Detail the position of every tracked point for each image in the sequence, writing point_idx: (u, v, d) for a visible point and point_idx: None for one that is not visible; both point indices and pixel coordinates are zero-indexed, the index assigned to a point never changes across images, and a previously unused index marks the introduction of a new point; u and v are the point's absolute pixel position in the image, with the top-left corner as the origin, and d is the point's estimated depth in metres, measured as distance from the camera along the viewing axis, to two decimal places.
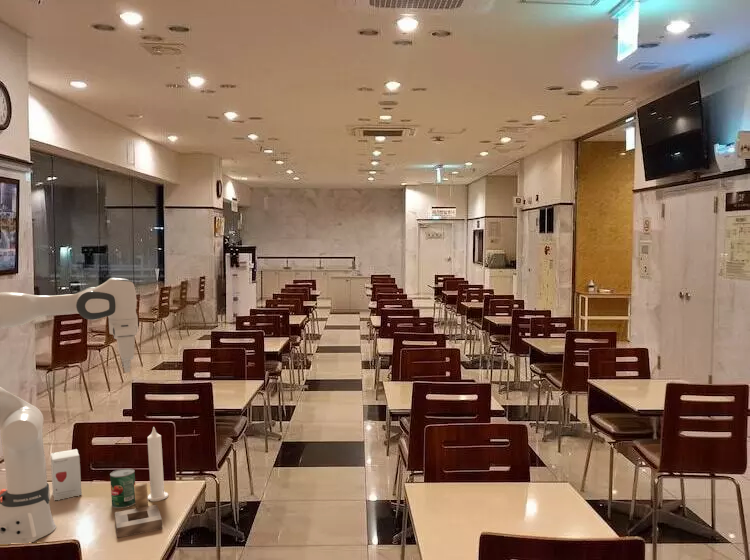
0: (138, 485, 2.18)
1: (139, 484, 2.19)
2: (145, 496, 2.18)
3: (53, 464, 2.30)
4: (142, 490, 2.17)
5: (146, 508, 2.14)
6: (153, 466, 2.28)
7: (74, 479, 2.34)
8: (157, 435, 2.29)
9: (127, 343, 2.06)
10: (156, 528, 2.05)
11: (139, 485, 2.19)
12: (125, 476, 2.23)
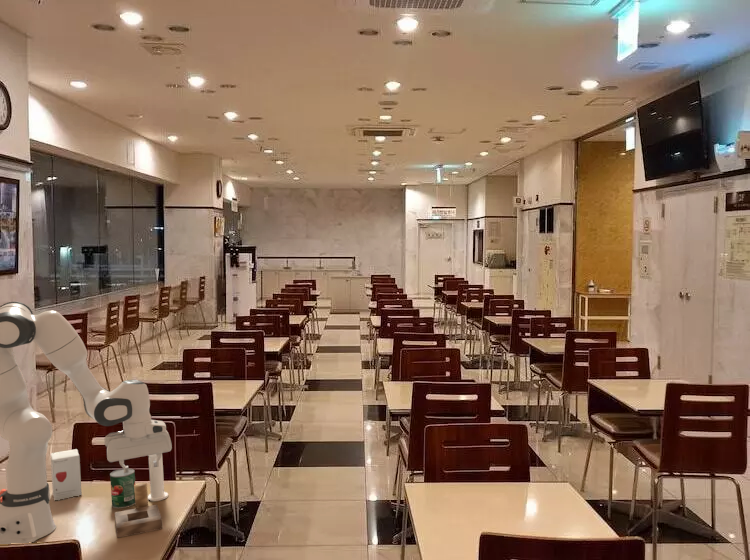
0: (138, 485, 2.18)
1: (139, 484, 2.19)
2: (145, 496, 2.18)
3: (53, 464, 2.30)
4: (142, 490, 2.17)
5: (146, 508, 2.14)
6: (153, 466, 2.28)
7: (74, 479, 2.34)
8: None
9: None
10: (156, 528, 2.05)
11: (139, 485, 2.19)
12: (125, 476, 2.23)
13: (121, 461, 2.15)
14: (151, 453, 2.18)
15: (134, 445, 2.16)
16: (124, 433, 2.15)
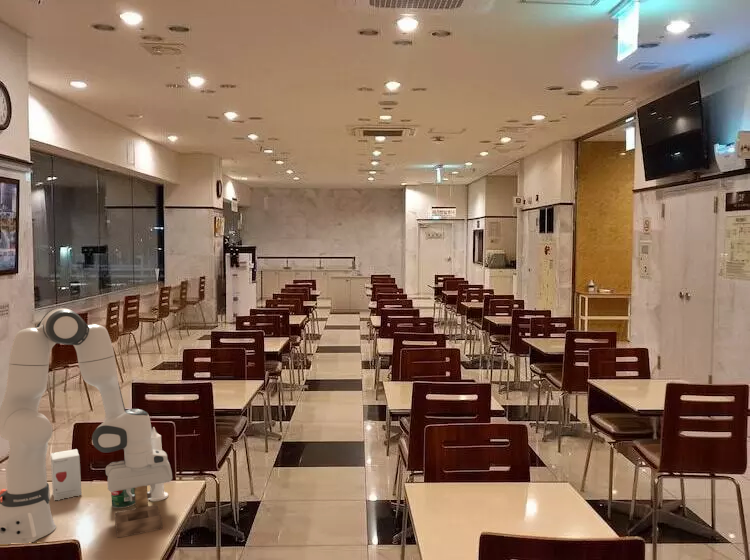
0: None
1: None
2: (145, 496, 2.18)
3: (53, 464, 2.30)
4: (142, 490, 2.17)
5: (146, 508, 2.14)
6: None
7: (74, 479, 2.34)
8: (157, 435, 2.29)
9: None
10: (156, 528, 2.05)
11: None
12: None
13: (128, 490, 2.17)
14: (151, 483, 2.19)
15: (135, 475, 2.17)
16: (125, 463, 2.16)
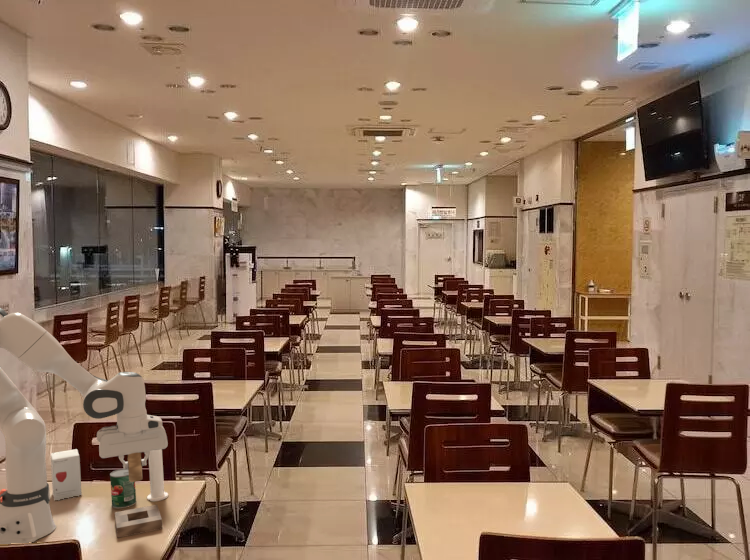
0: None
1: None
2: (139, 463, 2.07)
3: (53, 464, 2.30)
4: (135, 456, 2.06)
5: (146, 508, 2.14)
6: (153, 466, 2.28)
7: (74, 479, 2.34)
8: None
9: None
10: (156, 528, 2.05)
11: None
12: (125, 476, 2.23)
13: (121, 456, 2.05)
14: (145, 449, 2.07)
15: (128, 441, 2.05)
16: (118, 428, 2.04)
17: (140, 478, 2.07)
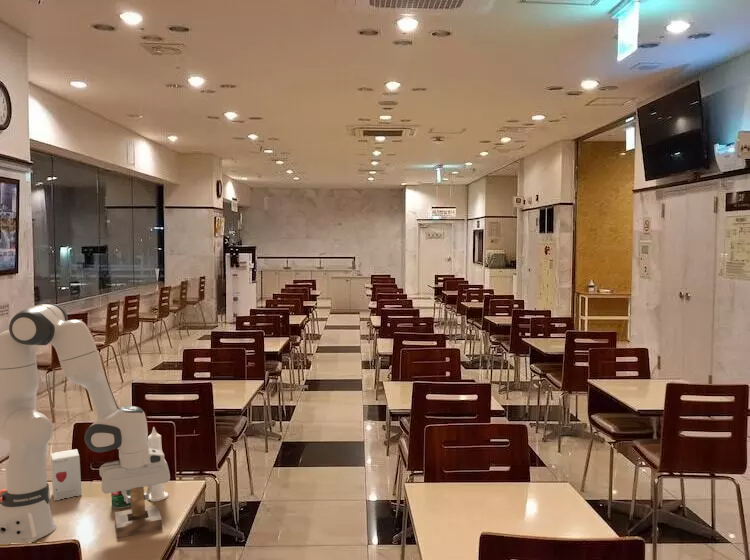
0: None
1: None
2: (141, 497, 2.07)
3: (53, 464, 2.30)
4: (138, 491, 2.06)
5: (146, 508, 2.14)
6: None
7: (74, 479, 2.34)
8: (157, 435, 2.29)
9: None
10: (156, 528, 2.05)
11: None
12: None
13: (123, 491, 2.05)
14: (148, 483, 2.07)
15: (130, 476, 2.05)
16: (120, 463, 2.04)
17: (143, 512, 2.08)
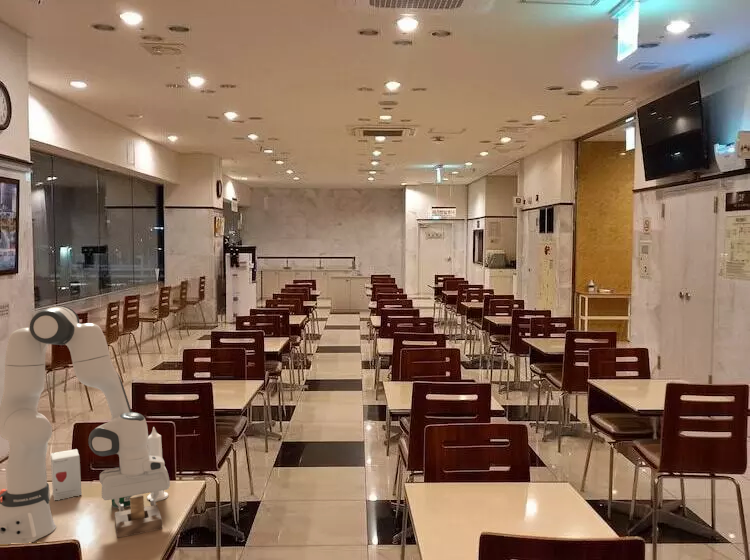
0: (134, 497, 2.08)
1: (135, 496, 2.09)
2: (141, 509, 2.08)
3: (53, 464, 2.30)
4: (138, 502, 2.07)
5: (146, 508, 2.14)
6: None
7: (74, 479, 2.34)
8: (157, 435, 2.29)
9: None
10: (156, 528, 2.05)
11: (136, 497, 2.08)
12: None
13: (116, 499, 2.05)
14: (148, 490, 2.08)
15: (130, 482, 2.06)
16: (120, 470, 2.05)
17: None
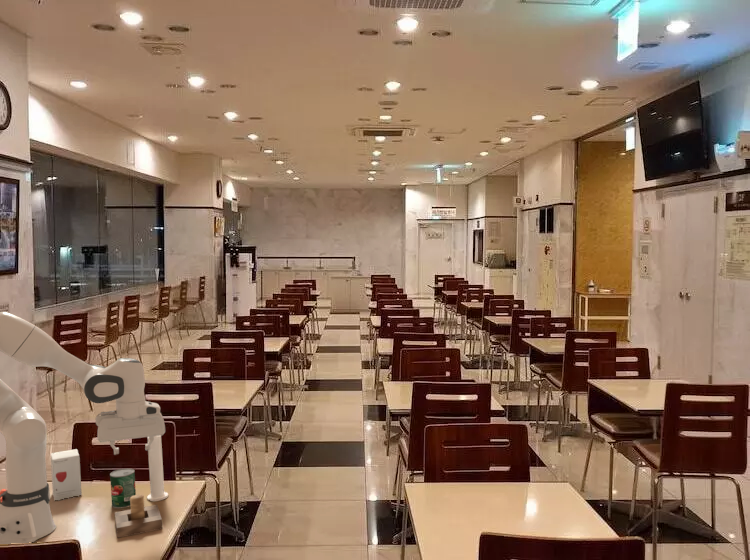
0: (134, 497, 2.08)
1: (135, 496, 2.09)
2: (142, 509, 2.08)
3: (53, 464, 2.30)
4: (138, 502, 2.07)
5: (146, 508, 2.14)
6: (153, 466, 2.28)
7: (74, 479, 2.34)
8: None
9: None
10: (156, 528, 2.05)
11: (136, 497, 2.08)
12: (125, 476, 2.23)
13: (112, 442, 2.07)
14: (143, 435, 2.10)
15: (126, 426, 2.08)
16: (116, 413, 2.07)
17: None
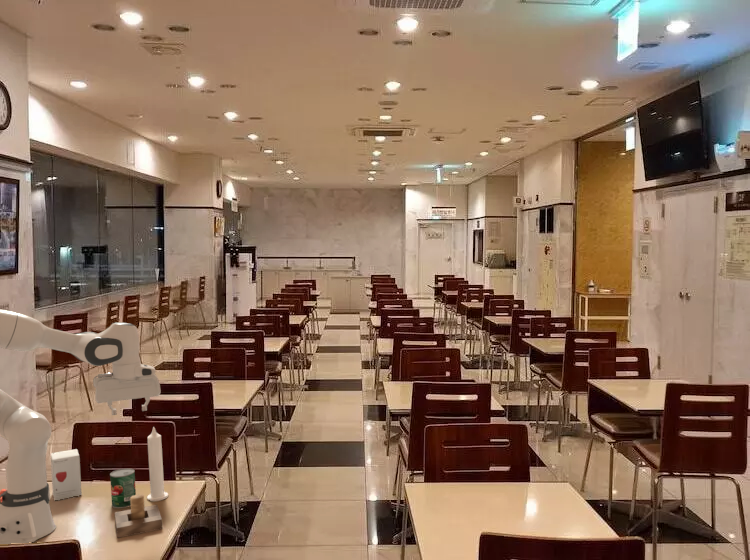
0: (134, 497, 2.08)
1: (135, 496, 2.09)
2: (142, 509, 2.08)
3: (53, 464, 2.30)
4: (138, 502, 2.07)
5: (146, 508, 2.14)
6: (153, 466, 2.28)
7: (74, 479, 2.34)
8: (157, 435, 2.29)
9: None
10: (156, 528, 2.05)
11: (136, 497, 2.08)
12: (125, 476, 2.23)
13: (109, 403, 2.15)
14: (139, 396, 2.18)
15: (123, 387, 2.16)
16: (113, 375, 2.15)
17: None
